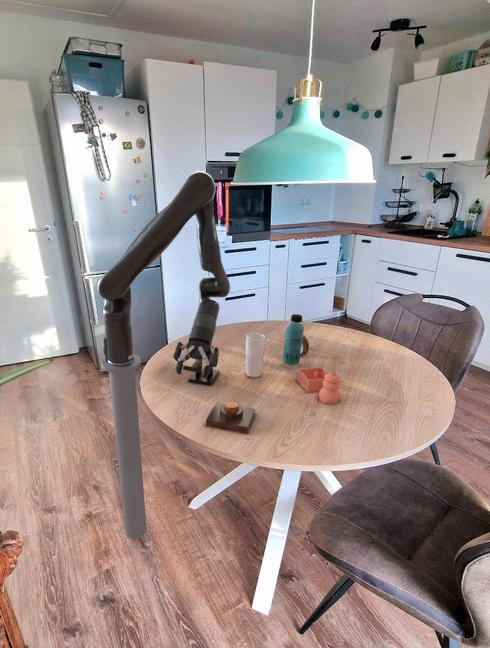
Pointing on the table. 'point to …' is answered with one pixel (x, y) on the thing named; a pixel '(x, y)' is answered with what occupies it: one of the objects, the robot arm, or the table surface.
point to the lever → (193, 367)
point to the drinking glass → (254, 353)
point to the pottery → (320, 383)
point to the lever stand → (197, 376)
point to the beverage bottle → (293, 341)
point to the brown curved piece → (303, 345)
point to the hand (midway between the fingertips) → (191, 375)
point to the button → (231, 407)
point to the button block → (231, 418)
